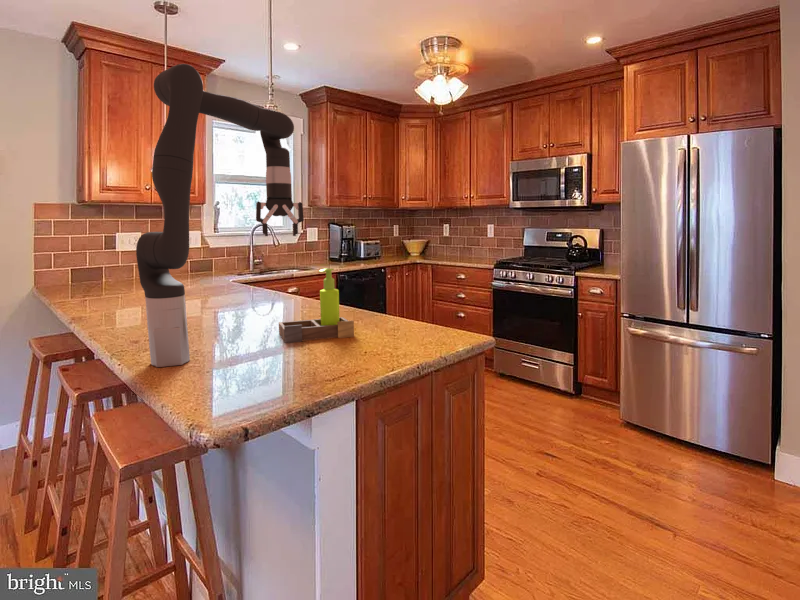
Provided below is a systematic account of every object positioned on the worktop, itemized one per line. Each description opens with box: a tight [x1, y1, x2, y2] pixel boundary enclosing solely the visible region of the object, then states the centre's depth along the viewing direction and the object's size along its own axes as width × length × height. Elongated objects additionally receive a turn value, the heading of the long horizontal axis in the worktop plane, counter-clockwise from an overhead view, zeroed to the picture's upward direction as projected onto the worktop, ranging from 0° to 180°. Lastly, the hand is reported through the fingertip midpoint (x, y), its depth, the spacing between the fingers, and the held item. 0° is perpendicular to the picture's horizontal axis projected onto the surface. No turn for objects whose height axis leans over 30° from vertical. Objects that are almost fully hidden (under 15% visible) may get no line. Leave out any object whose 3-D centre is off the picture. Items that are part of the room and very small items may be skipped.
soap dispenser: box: [318, 267, 340, 326], centre depth 162 cm, size 6×7×20 cm
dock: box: [278, 316, 355, 344], centre depth 162 cm, size 13×21×5 cm, turn 111°
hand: (280, 236), depth 161 cm, fingers open, 8 cm apart
